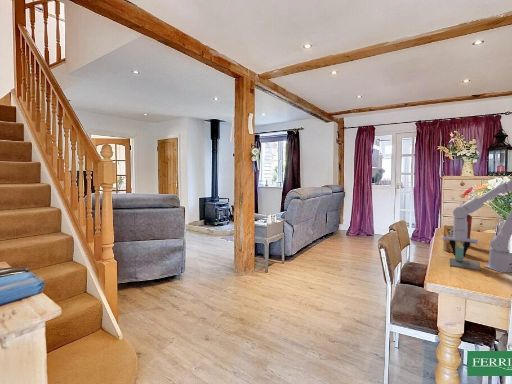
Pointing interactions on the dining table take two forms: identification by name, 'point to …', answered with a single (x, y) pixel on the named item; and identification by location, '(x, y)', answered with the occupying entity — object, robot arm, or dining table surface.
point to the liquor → (468, 225)
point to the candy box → (449, 233)
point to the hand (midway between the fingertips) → (459, 255)
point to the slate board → (464, 264)
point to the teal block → (459, 253)
